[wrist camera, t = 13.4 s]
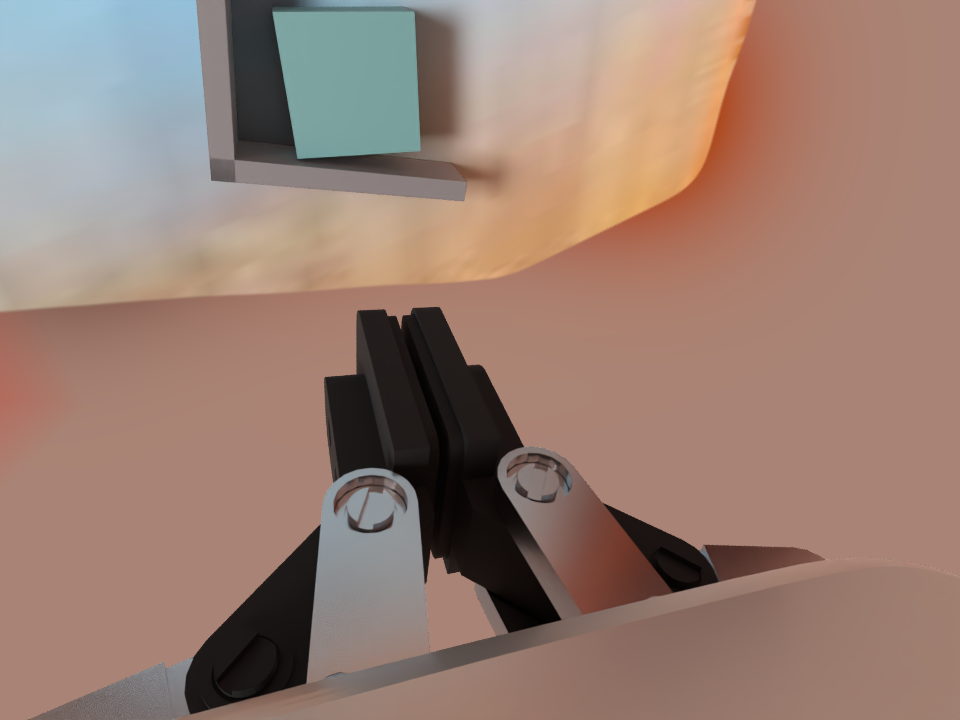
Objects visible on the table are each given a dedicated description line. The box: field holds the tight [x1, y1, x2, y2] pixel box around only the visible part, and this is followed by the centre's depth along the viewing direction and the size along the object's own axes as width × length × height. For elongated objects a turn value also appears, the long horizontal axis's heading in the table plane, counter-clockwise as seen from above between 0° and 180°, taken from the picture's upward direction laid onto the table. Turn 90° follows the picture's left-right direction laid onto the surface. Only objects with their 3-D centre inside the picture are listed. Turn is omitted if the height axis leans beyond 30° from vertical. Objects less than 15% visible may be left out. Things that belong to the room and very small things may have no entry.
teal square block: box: [272, 7, 421, 159], centre depth 31 cm, size 7×7×4 cm
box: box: [196, 0, 467, 201], centre depth 30 cm, size 15×14×4 cm
